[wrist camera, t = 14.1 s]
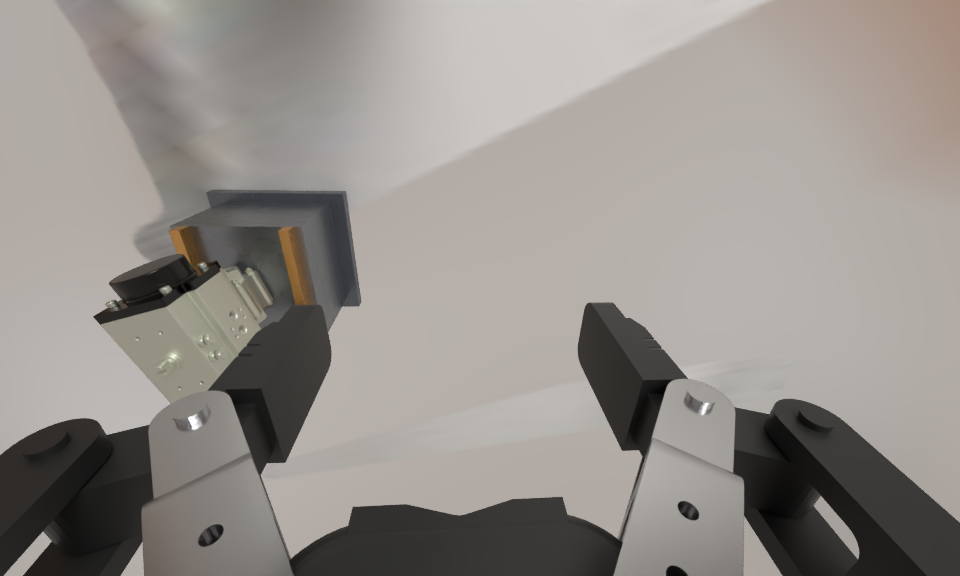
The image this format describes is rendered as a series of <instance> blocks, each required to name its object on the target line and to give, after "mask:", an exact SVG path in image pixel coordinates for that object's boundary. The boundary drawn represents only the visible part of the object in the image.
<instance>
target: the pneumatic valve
mask: <svg viewBox="0 0 960 576" xmlns="http://www.w3.org/2000/svg"><path fill="white" fill-rule="evenodd" d="M245 272H246V274H242V273H241V271H240V269H239V268H238V267H237V266H233V267H229V268H226V269H222V268H221V266H220V265H219V263H218V261H213V262H209V263H205V262H202V263H199V264H198V265H197V266H195V267H192V266H191V264H190V263H189V261H188V260H187V258H186V257H185V255H183V254H176V255H171V256H167V257H164V258H161V259H158V260H155V261H152V262H149V263H147V264H144V265H142V266H140V267H137V268H134V269H132V270H130V271H128V272H126V273H123V274H121V275H119V276H118V277H116V278H114V279H113V280H111V281H110V283H109V285H110V286H111V287H112V288H113V290H114V291H115V292H116V293H117V294H118V296H119V297H120V298H121V299H122V300H120V301H118V302H117V301H116V300H112V301H109V302H107V303H106V304H105V305H106V306H107V307H108V308H107V309H105V310H103V311H102V312H100V313H99V314H97V315H95V316H94V318H95V319H96V320H97V321H98V323H99V324H100V325H101V326H102V327H103V328H104V329H105V331H106V332H107V333H108V334H109V335H110V336H111V337H112V338H113V339H114V340H115V342H116V343H117V344H118V345H119V346H120V347H121V348H122V349H123V351H124V352H125V353H126V354H127V355H128V356H129V357H130V358H131V359H132V361H133V362H134V363H135V364H136V365H137V366H138V367H139V368H140V369H141V371H142V372H143V373H144V374H145V375H146V376H147V377H148V378H149V379H150V381H151V382H152V383H153V384H154V385H155V386H156V387H157V388H158V389H159V391H160V392H161V393H162V394H163V395H164V396H165V397H166V398H167V399H168V401H169V402H170V403H171V404H172V403H173V402H175V401H177V400H179V399H181V398H183V397H186V396H188V395H191V394H194V393H198V392H203V391H207V390H208V389H209V388H210V387H211V386H212V384H213V383H214V382H215V381H216V380H217V379H218V377H219V376H220V375H221V374H222V373H223V371H224V370H225V369H226V368H227V367H228V366H229V364H230V363H231V362H232V361H233V360H234V359H235V357H238V354H239V353H240V351H241V350H242V349H243V348H244V347H246V346H247V343H248V342H249V341H250V340H251V338H252V337H253V336H254V335H255V334H256V333H257V332H258V331H259V330H261V328H260V326H259V325H258V324H259V323H260V322H262V321H263V320H265V319H266V318H267V313H266V311H265V309H264V308H265V307H266V306H270V305H272V304H273V302H272V301H273V298H272V296H271V294H270V293H269V291H268V289H267V288H266V286H265V284H264V283H263V281H262V279H261V278H260V276H259V274H258V273H257V271H256V270H255V271H254V270H253V269H252V268H249V267H248V268H246V270H245Z"/></svg>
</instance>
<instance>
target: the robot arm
mask: <svg viewBox="0 0 960 576" xmlns="http://www.w3.org/2000/svg"><path fill="white" fill-rule="evenodd" d="M578 357H579V361H580V364H581V366H582V368H583V370H584V373H585V375H586V377H587V379H588V381H589V383H590V385H591V387H592V389H593V391H594V393H595V395H596V397H597V399H598V402H599V404H600V406H601V408H602V410H603V412H604V414H605V416H606V418H607V420H608V422H609V424H610V426H611V428H612V430H613V433H614V435H615V437H616V439H617V441H618V443H619V445H620V447H621V449H622V450H623V451H626V450H639V451H640V453H641V455H642V456H643V457H642V460H641V463H640V466H639V470H638V473H637V476H636V480H635V483H634V487H633V490H632V493H631V496H630V499H629V503H628V506H627V509H626V513H625V516H624V519H623V523H622V526H621V529H620V532H619V535H618V538H616V537H614V536H613V535H612V534H610V533H608V532H607V531H605V530H604V529H602V528H600V527H598V526H597V525H594V524H592V523H590V522H588V521H586V520H583V519H580V518H577V517H574V516H570V515H567V512H566V509H565V505H564V501H563V498H562V497H552V498H531V499H512V500H509V501H506V502H503V503H500V504H497V505H494V506H491V507H487V508H485V509H482V510H478V511H475V512H472V513H469V514H466V515H461V516H457V515H451V514H447V513H442V512H437V511H433V510H429V509H424V508H420V507H415V506H410V505H384V506H365V507H364V506H363V507H353V509H352V513H351V517H350V521H349V525H348V526H347V527H344V528H340V529H338V530H336V531H334V532H331V533H329V534H327V535H325V536H323V537H322V538H320V539H318V540H316V541H315V542H313V543H311V544H310V545H309V546H307V547H306V548H304V549H303V550H301V551H300V552H299V553H298V554H296V555H295V556H294V557H293V558H292V559H291V557H290V555H289V552H288V549H287V547H286V544H285V541H284V538H283V536H282V533H281V530H280V527H279V525H278V522H277V519H276V516H275V514H274V511H273V508H272V506H271V503H270V500H269V497H268V494H267V492H266V489H265V486H264V484H263V481H262V478H261V473H262V471H263V469H264V467H265V465H266V463H285V462H286V460H287V458H288V456H289V454H290V452H291V449H292V447H293V445H294V443H295V441H296V438H297V436H298V434H299V432H300V430H301V428H302V426H303V423H304V421H305V419H306V417H307V415H308V412H309V410H310V408H311V406H312V404H313V402H314V400H315V398H316V395H317V393H318V391H319V389H320V387H321V384H322V382H323V380H324V378H325V376H326V374H327V372H328V369H329V367H330V363H331V345H330V340H329V335H328V330H327V325H326V320H325V315H324V311H323V308H322V306H321V305H292V306H291V307H290V308H289V309H288V311H287V312H286V313H285V314H284V316H283V317H282V318H281V319H280V321H279V322H272V323H270V324H269V325H267V326H266V327H264V328H263V329H261V330H259V331H258V332H257V333H256V334H255V335H254V336H253V337H252V338H251V340H250V341H249V342H248V343H247V346H246V347H244V348H243V349H242V350H241V351H240V353H239V354H238V357H235V359H234V360H233V361H232V362H231V363H230V364H229V366H228V367H227V368H226V369H225V370H224V371H223V373H222V374H221V375H220V376H219V377H218V379H217V380H216V381H215V382H214V383H213V384H212V386H211V387H210V388H209V389H208V390H207V391H203V392H198V393H194V394H191V395H188V396H186V397H183V398H181V399H179V400H177V401H175V402H173V403H172V404H170V405H168V406H167V407H166V408H164V409H163V410H162V411H161V412H160V413H158V414H157V415H156V417H155V418H154V419H153V420H152V422H151V423H150V425H147V426H143V427H138V428H134V429H130V430H126V431H122V432H118V433H114V434H110V435H106V433H105V432H104V430H103V429H102V427H101V425H100V424H99V423H98V422H97V421H95V420H93V419H86V418H84V419H73V420H68V421H64V422H61V423H57V424H54V425H52V426H49V427H46V428H44V429H41V430H39V431H37V432H35V433H33V434H31V435H29V436H27V437H26V438H24V439H22V440H20V441H19V442H17V443H16V444H14V445H13V446H11V447H10V448H9V449H7V450H6V451H5V452H4V453H3V454H1V455H0V576H4V574H5V573H6V572H7V571H8V570H9V569H10V567H11V566H12V565H13V564H14V563H15V562H16V561H17V559H18V558H19V557H20V556H21V555H22V554H23V553H24V552H25V551H26V549H27V548H28V547H29V546H30V545H31V544H32V543H33V542H34V540H35V539H36V538H37V537H38V536H39V535H40V534H41V533H42V532H44V533H45V534H46V535H47V536H48V537H49V538H50V539H51V541H52V542H51V543H50V545H49V546H48V547H47V548H46V549H45V550H44V552H43V553H42V554H41V555H40V556H39V557H38V559H37V560H36V561H35V562H34V563H33V565H32V566H31V567H30V568H29V569H28V570H27V572H26V573H25V574H24V575H23V576H120V575H121V574H122V572H123V571H124V569H125V568H126V566H127V565H128V563H129V561H130V560H131V558H132V557H133V555H134V554H135V552H136V551H137V549H138V547H139V546H140V544H141V543H142V541H143V559H144V576H743V567H744V564H743V563H744V516H745V518H746V519H747V521H748V522H749V524H750V525H751V527H752V529H753V530H754V532H755V533H756V535H757V536H758V538H759V539H760V541H761V543H762V544H763V546H764V547H765V549H766V550H767V552H768V553H769V555H770V557H771V558H772V560H773V561H774V563H775V564H776V566H777V567H778V569H779V571H780V572H781V574H782V575H783V576H960V523H959V522H958V521H957V520H956V519H955V518H954V517H952V516H951V515H950V514H949V513H948V512H947V511H946V510H945V509H943V508H942V507H941V506H940V505H939V504H937V502H935V501H934V500H933V499H932V498H931V497H930V496H929V495H927V494H926V493H925V492H924V491H923V490H921V488H919V487H918V486H917V485H916V484H915V483H914V482H913V481H911V480H910V479H909V478H908V477H907V476H906V475H905V474H903V473H902V472H901V471H900V470H899V469H898V468H896V467H895V466H894V465H893V464H892V463H891V462H890V461H889V460H887V459H886V458H885V457H884V456H883V455H882V454H881V453H879V452H878V451H877V450H876V449H875V448H874V447H873V446H871V445H870V444H869V443H868V442H867V441H866V440H865V439H863V438H862V437H861V436H860V435H859V434H858V433H857V432H855V431H854V430H853V429H852V428H851V427H850V426H849V425H847V424H846V423H845V422H844V421H843V420H841V419H840V418H839V417H837V416H836V415H834V414H832V413H831V412H829V411H827V410H825V409H823V408H821V407H819V406H816V405H814V404H811V403H808V402H805V401H801V400H795V399H783V400H779V401H778V402H776V403H775V405H774V407H773V409H772V410H771V412H770V414H765V413H759V412H755V411H749V410H745V409H740V408H735V407H734V405H733V404H732V402H731V401H730V400H729V399H728V398H727V397H726V396H725V395H724V394H723V393H722V392H720V391H719V390H717V389H716V388H714V387H712V386H710V385H708V384H705V383H703V382H700V381H696V380H692V379H688V378H687V377H686V376H685V375H684V373H683V372H682V371H681V370H680V369H679V368H678V366H677V365H676V364H675V363H674V362H673V360H672V359H671V358H670V357H669V356H668V354H667V353H666V352H665V351H664V350H662V349H661V346H660V345H659V344H658V343H657V341H656V340H654V338H653V337H652V336H651V334H650V333H649V332H648V331H647V330H646V328H645V327H643V326H642V325H640V324H639V323H637V322H636V321H634V320H632V319H631V318H625V317H624V315H623V314H622V313H621V312H620V310H619V309H618V308H617V307H616V305H615V304H614V303H588V304H587V305H586V306H585V310H584V315H583V320H582V326H581V331H580V337H579V342H578ZM820 496H822V497H823V498H824V500H825V501H826V502H827V503H828V504H829V505H830V506H831V508H832V509H833V510H834V511H835V512H836V513H837V515H838V516H839V517H840V518H841V519H842V520H843V521H844V523H845V524H846V525H847V526H848V527H849V529H850V530H851V531H852V533H853V534H854V536H855V538H856V540H857V543H858V546H859V552H860V554H859V559H857V558H856V557H855V556H854V554H853V553H852V552H851V551H850V550H849V548H848V547H847V546H846V545H845V544H844V542H843V541H842V540H841V539H840V538H839V536H838V535H837V534H836V533H835V532H834V530H833V529H832V528H831V527H830V525H829V524H828V523H827V522H826V521H825V520H824V518H823V517H822V516H821V515H820V513H819V512H818V511H817V510H816V509H815V508H814V504H815V503H816V501H817V500H818V499H819V497H820Z"/></svg>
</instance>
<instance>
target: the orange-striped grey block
mask: <svg viewBox="0 0 960 576" xmlns="http://www.w3.org/2000/svg"><path fill="white" fill-rule="evenodd" d="M207 195H208V199H209V202H210V205H211V208H210V209H207V210H205V211H203V212H200V213H198V214H196V215H194V216H191V217H189V218H187V219H185V220H182V221H180V222H178V223H176V224H173V225H171V226H170V228H171V230H169V233H170V235H171V238H172V240H173V243H174V246H175V248H176V251H177V254H183V255H185V257H186V258H187V260H188V261H189V263H190V264H191V266H192V267H195V266H197V265H198V264H199V263H202V262H205V263H209V262H213V261H218V263H219V265H220V266H221V268H222V269H226V268H229V267H233V266H237V267H238V268H239V269H240V271H241V273H242V274H246V272H245V270H246V268H248V267H249V268H252V269H253V270H254V271H255V270H256V271H257V273H258V274H259V276H260V278H261V279H262V281H263V283H264V284H265V286H266V288H267V289H268V291H269V293H270V294H271V296H272V298H273V301H272V302H273V304H272V305H270V306H266V307H265V308H264V309H265V311H266V313H267V318H266V319H265V320H263V321H262V322H260V323H259V324H258V325H259V326H260V328H261V329H263V328H264V327H266V326H267V325H269V324H270V323H272V322H279V321H280V319H281V318H282V317H283V316H284V314H285V313H286V312H287V311H288V309H289V308H290V307H291V306H292V305H321V306H322V308H323V311H324V315H325V320H326V325H327V330H328V331H329V329H330V328H331V326H332V324H333V322H334V320H335V318H336V317H337V315H338V313H339V311H340V309H341V307H342V306H359V305H360V303H361V296H360V289H359V282H358V275H357V268H356V261H355V254H354V247H353V240H352V232H351V225H350V218H349V211H348V204H347V197H346V191H268V190H211V191H209V192H207Z"/></svg>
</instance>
